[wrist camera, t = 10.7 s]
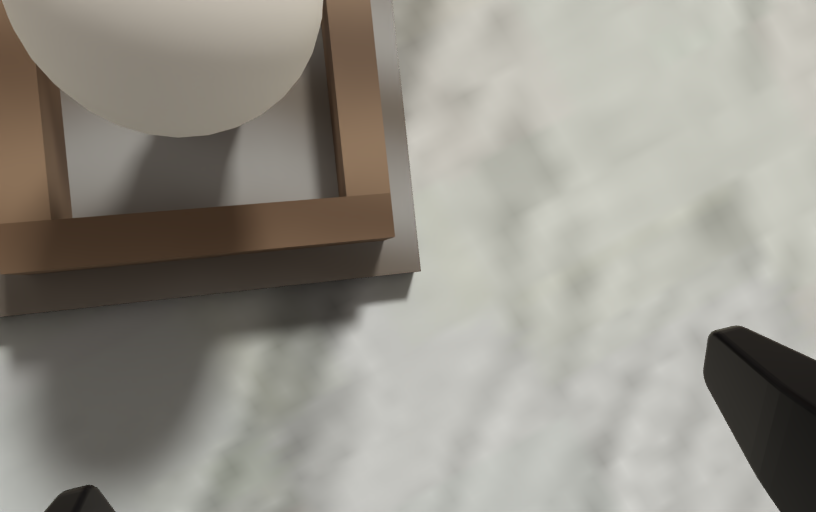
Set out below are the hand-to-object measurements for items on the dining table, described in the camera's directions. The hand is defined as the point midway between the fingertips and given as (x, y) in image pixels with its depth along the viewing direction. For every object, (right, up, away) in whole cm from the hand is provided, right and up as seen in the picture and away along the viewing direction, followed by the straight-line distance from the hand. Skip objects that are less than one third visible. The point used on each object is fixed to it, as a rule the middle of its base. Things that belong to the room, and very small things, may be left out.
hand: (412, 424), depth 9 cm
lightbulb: (-7, +8, +12) cm, 16 cm away
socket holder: (-7, +8, +12) cm, 16 cm away
